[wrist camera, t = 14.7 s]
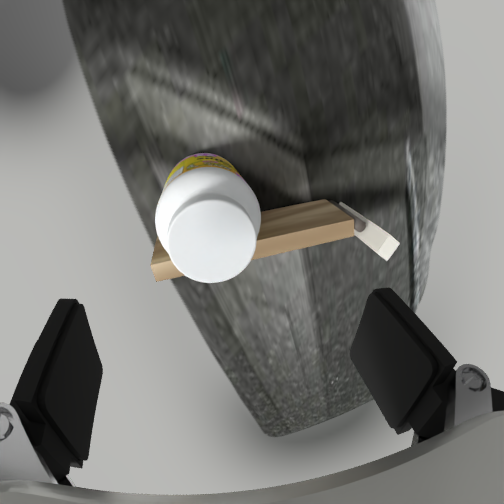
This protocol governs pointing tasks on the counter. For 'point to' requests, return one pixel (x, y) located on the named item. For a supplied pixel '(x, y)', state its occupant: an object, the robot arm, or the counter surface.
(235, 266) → the supplement bottle
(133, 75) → the counter surface
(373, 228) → the gate post
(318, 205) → the wooden plank
